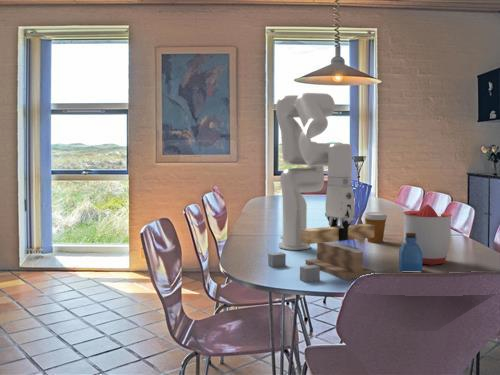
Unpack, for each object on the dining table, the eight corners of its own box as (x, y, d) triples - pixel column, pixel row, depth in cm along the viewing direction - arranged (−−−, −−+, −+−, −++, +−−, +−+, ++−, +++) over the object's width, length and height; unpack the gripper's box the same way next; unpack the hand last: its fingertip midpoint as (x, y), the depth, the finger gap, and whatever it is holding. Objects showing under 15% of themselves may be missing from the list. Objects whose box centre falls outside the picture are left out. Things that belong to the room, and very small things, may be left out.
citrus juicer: (460, 260, 162) (461, 203, 161) (438, 269, 150) (440, 208, 149) (417, 253, 174) (418, 200, 172) (394, 261, 161) (395, 204, 160)
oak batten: (366, 235, 157) (366, 223, 157) (374, 237, 153) (374, 225, 153) (301, 241, 146) (301, 229, 145) (308, 244, 142) (308, 231, 142)
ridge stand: (305, 264, 158) (305, 239, 157) (332, 260, 162) (332, 236, 162) (346, 280, 138) (346, 251, 137) (374, 275, 143) (375, 248, 142)
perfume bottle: (422, 273, 146) (422, 235, 145) (401, 272, 147) (402, 235, 146) (418, 268, 152) (419, 232, 151) (398, 267, 153) (399, 231, 152)
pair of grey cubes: (268, 265, 156) (268, 253, 156) (281, 263, 159) (281, 252, 158) (305, 282, 136) (305, 268, 136) (319, 280, 138) (319, 266, 138)
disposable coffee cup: (389, 243, 193) (390, 215, 192) (366, 243, 193) (367, 215, 192) (382, 239, 202) (383, 212, 202) (361, 239, 202) (361, 212, 202)
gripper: (366, 183, 142) (365, 242, 144) (333, 180, 157) (332, 234, 159) (346, 184, 139) (345, 244, 140) (314, 181, 154) (314, 235, 155)
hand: (338, 238), depth 150 cm, fingers closed on oak batten, 3 cm apart
